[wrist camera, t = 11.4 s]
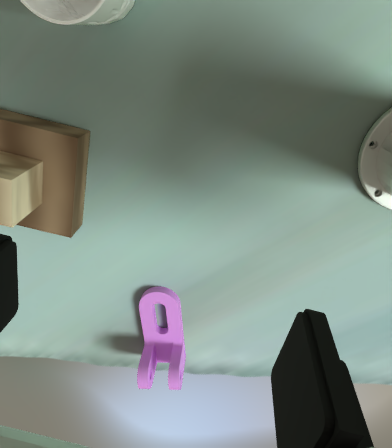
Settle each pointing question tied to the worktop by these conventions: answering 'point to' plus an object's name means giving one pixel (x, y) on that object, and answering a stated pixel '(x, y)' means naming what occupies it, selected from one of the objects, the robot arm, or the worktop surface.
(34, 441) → the robot arm
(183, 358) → the bracket
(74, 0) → the white cup
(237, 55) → the worktop surface
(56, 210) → the base block
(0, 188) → the maple block
